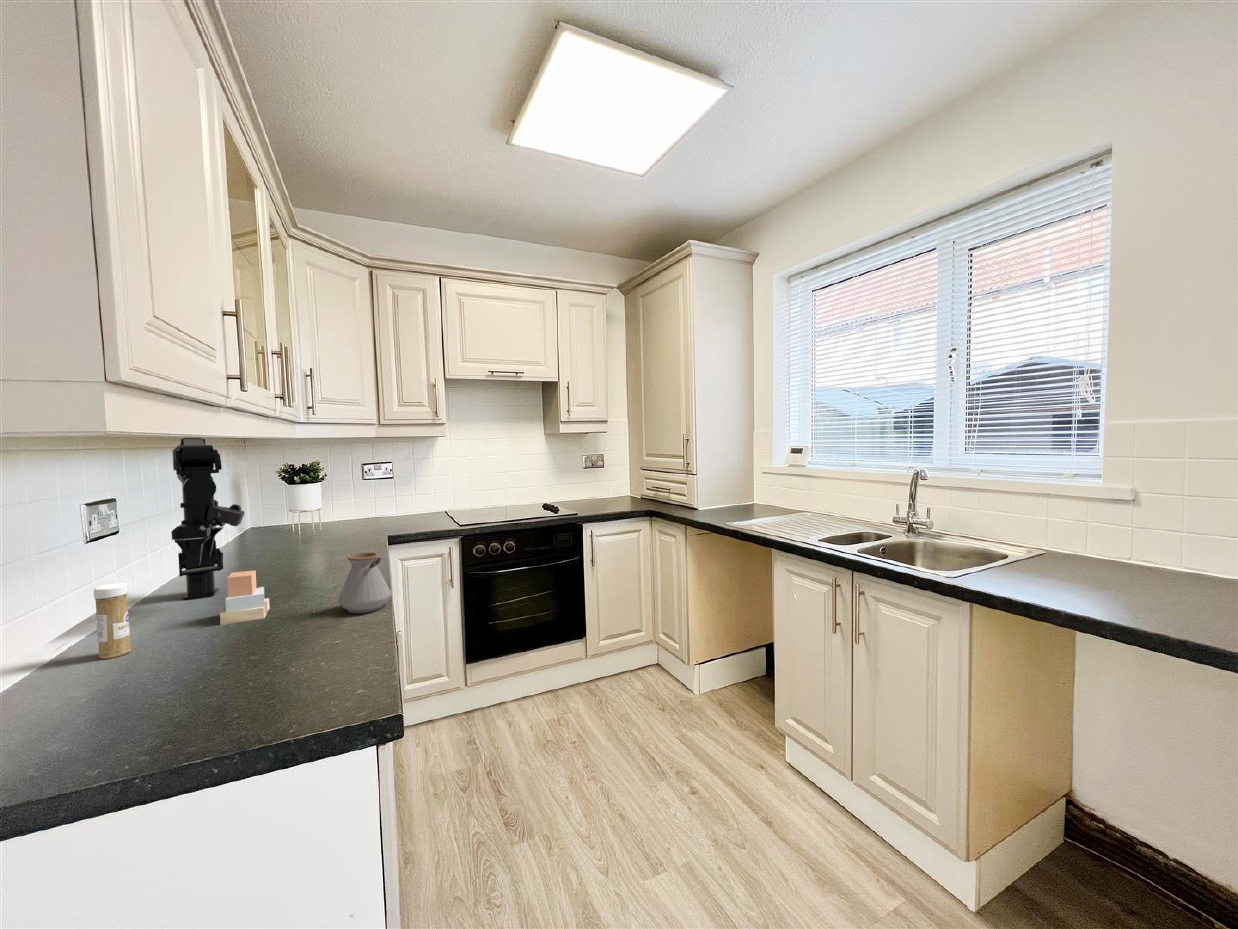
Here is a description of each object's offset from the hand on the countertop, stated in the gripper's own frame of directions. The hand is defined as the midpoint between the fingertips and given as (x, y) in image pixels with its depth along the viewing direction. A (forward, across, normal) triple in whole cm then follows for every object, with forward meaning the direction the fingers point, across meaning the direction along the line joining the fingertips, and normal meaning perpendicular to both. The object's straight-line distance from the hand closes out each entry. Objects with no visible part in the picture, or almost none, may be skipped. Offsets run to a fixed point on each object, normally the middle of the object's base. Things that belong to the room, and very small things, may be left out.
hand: (202, 562), depth 121 cm
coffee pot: (+12, -22, -36) cm, 44 cm away
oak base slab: (+12, -10, -10) cm, 19 cm away
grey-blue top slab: (+9, -10, -10) cm, 17 cm away
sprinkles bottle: (+12, -24, +8) cm, 28 cm away
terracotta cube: (+6, -10, -9) cm, 15 cm away
